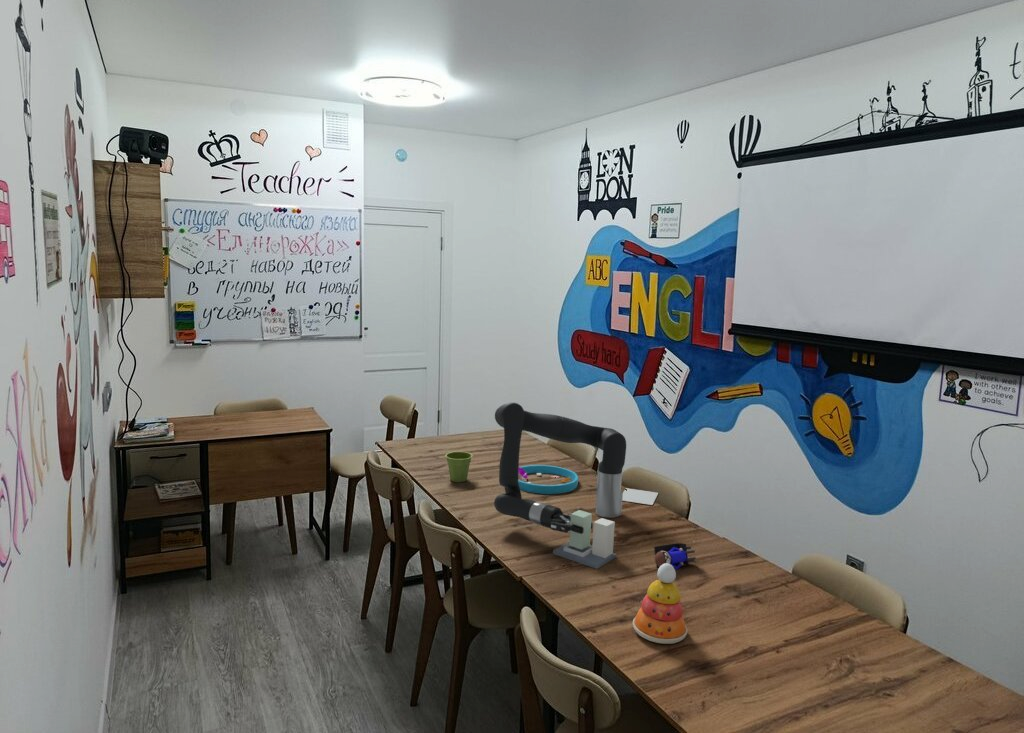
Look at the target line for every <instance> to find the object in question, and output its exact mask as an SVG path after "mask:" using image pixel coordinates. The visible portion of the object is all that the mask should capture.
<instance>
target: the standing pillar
mask: <svg viewBox="0 0 1024 733" xmlns="http://www.w3.org/2000/svg"><path fill="white" fill-rule="evenodd" d="M615 523H616V522H615V521H613V520H609V519H608V518H604V517H601V518H599V519H596V520H595V521H593V527H592V529H593V530H592V554H594V555H597V556H600V557H603V558H606V557H608V556H610V555H611V554H613V553H614V542H615V541H614V540H615V526H616V525H615Z"/></svg>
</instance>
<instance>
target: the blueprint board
mask: <svg viewBox="0 0 1024 733" xmlns="http://www.w3.org/2000/svg"><path fill="white" fill-rule="evenodd" d="M552 554H553V555H556V556H558V557H561V558H564V559H567V560H569V561H570V560H571V561H573V562H576V563H579V564H581V565H584V566H588V567H590V568H593V569H596V570H598V569H599V568H601V567H602V566H604V565H606V564H607V563H609V562H611V561H612V560H614V559H616V558H617V554H616V553H614V552H613V554H611V555H610V556H608V557H606V558H603V557H600V556H597V555H594V554H592V545H591V544H590V545H589V546H587V547H586V548H584V549H582V550H581V549H578V548H575V547H572V546H570V545H569V541H568V542H566V543H564V544H563V545H560V546H559V547H557V548H555V549H553V550H552Z"/></svg>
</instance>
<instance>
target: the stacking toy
mask: <svg viewBox="0 0 1024 733" xmlns="http://www.w3.org/2000/svg"><path fill="white" fill-rule="evenodd" d="M657 569H658V570H657V573H656V574H657V578H658V579H655V580H654V581H653V582H651V583H650V585H649V587H648V588H647V591H646V594H645V596H644V597H643V599H642V600H641V605H640V608H639V609H638V611H637V613H636V616H635V617H634V618H633V620H632V627H633V629H634V631H635V632H636V633H637V634H638V635H639V636H640V637H641V638H643V639H645V640H647V641H650V642H653V643H656V644H663V645H664V644H665V645H667V644H668V645H669V644H676V643H678V642H679V643H680V642H681V641H682V640H684V639H685V638H686V637H687V635H688V628H687V625H686V622H685V618H684V616H683V613H684V610H683V605H682V601H681V593H680V590H679V587H678V586H677V585H676V583H674V581H675V580H676V577H677V573H676V569H675V568H674V567H673V566H672V565H670V564H668V563H665V564H663V565H661V566H660V567H659V568H657Z"/></svg>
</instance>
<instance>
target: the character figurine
mask: <svg viewBox="0 0 1024 733" xmlns="http://www.w3.org/2000/svg"><path fill="white" fill-rule="evenodd" d="M653 549H654V551H653V552H654V562H655V564H656V569H659V567H660V566H661V565H663V564H665V563H668V564H670V565H672V566H673V568H674V569H675V571H676V570H679V568H680V567H681V566H683V565H684V566H685V565H687V566H689V564H690V563H693V562H695V560H696V559H697V558H696V557H695V556H692V557H688V554H694V553H695V552H696V550H694V549H692V546H691V545H687V544H686V543H683V542H681V543H680V542H677V543H670V544H663V545H656V546H653Z"/></svg>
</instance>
